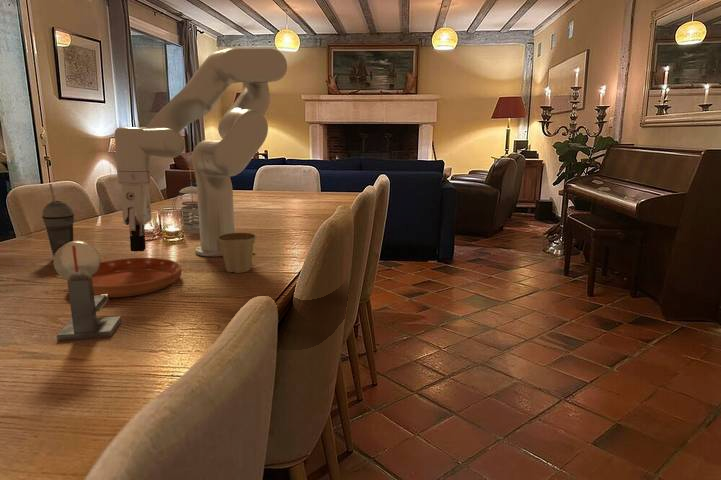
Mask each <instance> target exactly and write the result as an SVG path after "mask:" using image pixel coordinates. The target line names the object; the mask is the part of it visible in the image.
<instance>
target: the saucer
mask: <svg viewBox="0 0 721 480" xmlns="http://www.w3.org/2000/svg"><path fill="white" fill-rule="evenodd" d="M181 276H182V265H181V264H180V263H178V262H177V261H175V260H171V259H167V258H159V257H158V258H157V257H156V258H155V257H135V258H134V257H133V258H132V257H131V258H119V259H111V260H105V261H104V260H103V261H101V263H100V267H99V269H98V271H97V272H96V273H95V274H94V275H93V276H91V277H92V283H93V291H94V296H96V295H101V294H108V298H112V299H113V298H124V297H125V298H127V297H132V296H133V297H134V296H139V295H144V294H150V293H152V292H156V291H159V290H162V289H164V288H166V287H169V286H170V285H171V284H173V282H176V281H177V280H178V279H179V278H180V277H181ZM67 281H68V280H67V279H66V282H67Z"/></svg>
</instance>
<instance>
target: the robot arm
mask: <svg viewBox="0 0 721 480" xmlns="http://www.w3.org/2000/svg"><path fill="white" fill-rule="evenodd" d="M287 70H288V62H287V59H286V57H285V55H284V54H283V53H282V52H281V51H279V50H277V49H276V48H271V47H270V48H268V47H267V48H265V47H263V48H262V47H261V48H259V47H258V48H257V47H256V48H253V47H252V48H251V47H250V48H248V47H247V48H246V47H245V48H244V47H243V48H242V47H241V48H240V47H239V48H238V47H237V48H236V47H233V48H225V49H222V50H218V51H214V52H213V53H211V54H210V55H209V56H208V57H206V59H205V60H204V61H203V62H202V63H201V65H200V66H199V67H198V68H197V70H196V71H195V73H194V74H193V75H192V76H191V78H190V79H189V80H188V82H187V83H186V84H185V85H184V86H183V88H181V90H180V91H178V93H176V95H174V96H173V98H172V99H170V101H168V102H167V103H166V104H165V105H164V106H163V107H162V108H161V109H160V110H159V111H158V112H157V113H156V114H155V116H154V117H153V118H152V119H151V120H150V122H149V123H148V124H147V126H146V127H145V128H143V127H136V126H135V127H133V126H131V127H130V126H120V127H117V128H116V129H115V131H114V141H115V142H114V147H115V161H116V162H115V163H116V176H117V177H116V179H117V184H118V185H119V186H120V185H121V208H122V209H121V210H122V220H123V224H124V225H125V226H128V228H129V229H128V230H129V242H130V244H129V245H130V251H131V252H144V251H146V249H147V248H146V234H145V225H147V224H148V223H149V222H150V221H151V220H152V209H151V208H152V207H151V196H150V188H149V185H152V177H151V176H152V175H151V173H152V172H151V157H154V158H162V159H175V158H176V157H179V156H180V155H182V153H183V152H184V150H185V148H186V147H185V146H186V145H185V138H184V137H183V135H182V134H181V132H182V131H183V130H184V128H186V127H187V126H189V125H191V123H193V122H195V121H197V120H199V119H201V118H203V117H205V115H207V114H208V113H210V112H211V110H213V108H214V106H216V104H217V103H218V101H219V100H220V99H221V97H222V96H223V95H224V94H225V92H226V91H227V90H228V88H229V87H230V86H231V85H232V84H236V83H241V84H242V89H241V92H240V93H239V95H238V97H237V98H236V100H235V101H234V102H233V104H232V105H231V106H230V108H229V109H227V111H226V113H225V114H224V115H223V116H222V118H221V119H220V121H219V122H218V127H217V131H218V134H219V136H220V138H221V139H217V138H215V139H213V138H211V139H210V138H209V139H205V140H201V141H200V142H199V143H197V145H195V146H194V148H193V150H192V155H191V159H192V161H191V162H192V168H193V171H194V178H195V182H196V187H197V201H198V211H199V220H198V221H199V226H200V232H199V238H200V239H199V240H200V245H199V246H197V247H196V248H195V249H194V250H195V251H194V252H195V254H196V255H198V256H201V257H209V258H210V257H213V258H214V257H215V258H216V257H223V253H222V248H221V245H220V244H219V240H218V239H217V237H218V236H220V235H223V234H228V233H236V232H235V214H234V213H235V211H234V191H233V184H232V180H231V177H234V176H237V175H239V174H240V173H242V172H243V171H244V170H245V169H246V167H247V166H248V165H249V164H250V162H251V160H252V159H253V158H254V156H255V155H256V154H257V153H258V151H259V150H260V148H261V147H262V146H263V144H264V143H265V141H266V139H267V136H268V134H269V133H268V131H269V123H268V120H267V118H266V117H265V114H266V112H268V111H267V110H268V109H269V107H270V104H271V93H270V88H269V83H272V82H273V83H275V82H278V81H280V80H282V79H283V78H284V76H285V75H286V73H287Z"/></svg>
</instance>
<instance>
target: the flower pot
mask: <svg viewBox="0 0 721 480" xmlns="http://www.w3.org/2000/svg"><path fill="white" fill-rule="evenodd" d="M256 238H257V235H256V234H255V233H251V232H235V233H228V234H223V235H220V236H218V237H217V239H218V240H219V244H220V245H221V248H222V253H223V256H222V257H223V262H224V266H225V271H226V272H227V273H235V274H241V273H246V272H249V271H250V270H252V268H253V267H252V265H253V257H254V256H253V254H254V245H255V243H256Z"/></svg>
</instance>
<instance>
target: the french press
mask: <svg viewBox="0 0 721 480" xmlns="http://www.w3.org/2000/svg"><path fill="white" fill-rule="evenodd" d="M186 162H189V164H191V162H192V157H189V158H186ZM191 171H192V170H191V167H189V175H190V179H192V172H191ZM178 193H180V194H179V195H177V196H175V197H174V198H173V200H172V203H171V204H172V210H173V211H174V210H177V208H176V202H177V201H176V200H177V199H178V198H179V199H180V200H182V199H183V195H182V194H185V195H186V194H189V195H194V194H197V186H193V184H192V182H190V186H187V187H184V188H182V189H181V190H179V192H178ZM181 205H183V206H181V207H180V213H181V212H182V221H181V223H182V222H183V231H184V233H183V234H197V233H199V234H200V226H199V211H198V200H196V201H194V199H193V196H191V201H190V200H189V201H182V202H181Z"/></svg>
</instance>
